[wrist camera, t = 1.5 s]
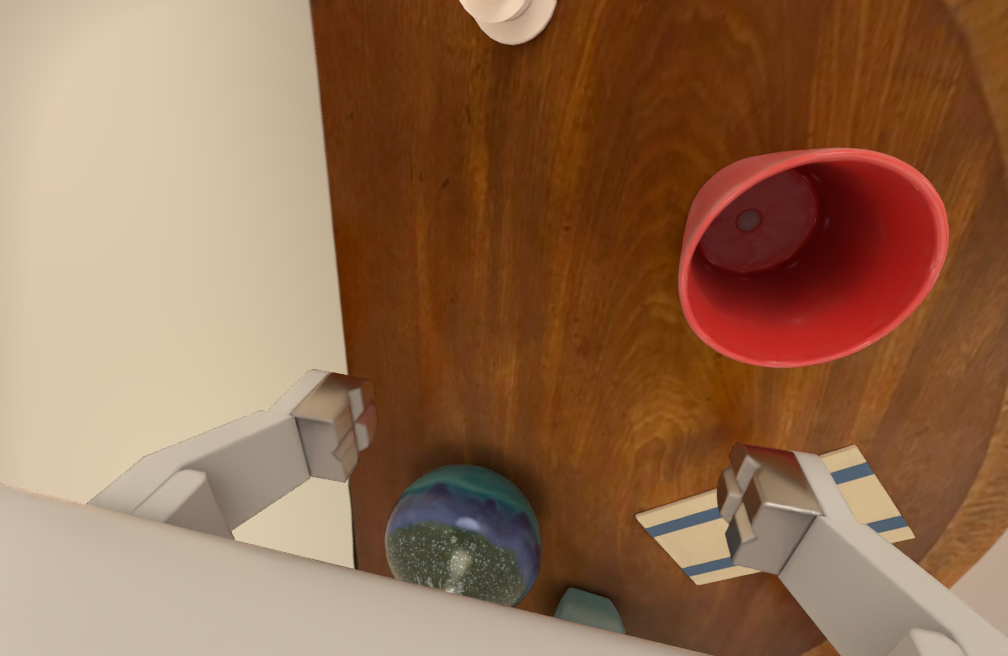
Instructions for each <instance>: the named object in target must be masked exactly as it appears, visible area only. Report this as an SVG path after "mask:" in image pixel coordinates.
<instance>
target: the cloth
mask: <svg viewBox="0 0 1008 656" xmlns="http://www.w3.org/2000/svg"><path fill="white" fill-rule="evenodd" d="M819 457H820V458H821V459H822V460H823V462H824V463H825V465H826V467H827V469H828V470H829V472H830V474H831V476H832V478H833V479H834V481H835V483H836V485H837V486H838V488H839V490H840V492H841V493H842V495H843V497H844V499H845V500H846V502H847V504H848V506H849V508H850V509H851V511H852V513H853V515H854V516H855V518H856V520H857V522H858V523H861V524H866V525H868V526H869V527H871V528H872V529H873V530H874V531H876V532H877V533H878V534H879V535H881V536H882V537H883V538H884V539H886V540H887V541H888V542H889V543H893V542H898V541H903V540H907V539H912V538H915V536H914V534H913V533H912V531H911V530H910V528H909V527H908V525H907V523H906V522H905V520H904V519H903V517H902V516H901V514H900V513H899V511H898V510H897V508H896V507H895V505H894V503H893V502H892V500H891V499H890V497H889V496H888V494H887V493H886V491H885V490H884V488H883V487H882V485H881V483H880V482H879V480H878V479H877V477H876V476H875V474H874V473H873V471H872V470H871V468H870V467H869V465H868V463H867V462H866V460H865V459H864V457H863V456H862V454H861V453H860V451H859V450H858V448H857V447H856V445H855V444H854V445H851V446H848V447H845V448H842V449H838V450H835V451H832V452H829V453H826V454H823V455H820V456H819ZM635 516H636V519H637V520H638V521H639V522H640V523H641V524H642V525H643V526H644V527H645V530H646V531H647V532H648V533H649V534H650V535H651V536H652V537H654V538H655V540H656V541H657V542H658V543H659V544H660V545H661V546H662V547H663V548H664V549H665V550H666V552H667V553H668V554H669V555H670V556H671V557H672V558H673V559H674V560H675V561H676V563H677V564H678V565H679V566H680V567H681V568H682V570H683V571H684V572H685V573H686V574H687V576H688V577H690V578H691V579H692V580H693V581H694V582H695V583H696V584H697V585H701V584H706V583H710V582H715V581H720V580H724V579H729V578H733V577H738V576H742V575H747V574H752V573H756V572H761V571H759V570H755V569H751V568H746V567H742V566H738V565H734V564H732V560H731V556H730V552H729V549H728V545H727V541H726V537H725V532H726V530H727V528H728V526H729V524H728V523H727V522H726V521H725V520H724V519H723V518H722V517H721V516H720V513H719V509H718V505H717V489H714V490H711V491H707V492H704V493H701V494H698V495H695V496H692V497H689V498H686V499H682V500H679V501H676V502H673V503H670V504H667V505H664V506H661V507H658V508H654V509H651V510H648V511H645V512H642V513H639V514H636V515H635Z"/></svg>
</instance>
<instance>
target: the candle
mask: <svg viewBox="0 0 1008 656" xmlns="http://www.w3.org/2000/svg"><path fill="white" fill-rule="evenodd" d="M460 2H461V3H462V5H463V7H464V8H465V10H466V11H467V12H468V13H469V14H471V15H472V16H473V17H474V18H475V20H476V22H477V23H478V25H479V26H480V28H481V29H482V30H483V31H484V32H485V33H486V34H487V35H488V36H489V37H490V38H492V39H494V40H496V41H498V42H500V43H503V44H510V45H516V44H522V43H525V42H527V41H529V40H531V39H533V38H535V37H536V36H537V35H538V34H539V33H541V32H542V31H543V30H544V28H545V27H546V26H547V24H548V23H549V21H550V20H551V18H552V15H553V13H554V10H555V8H556V5H557V0H460Z"/></svg>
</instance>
